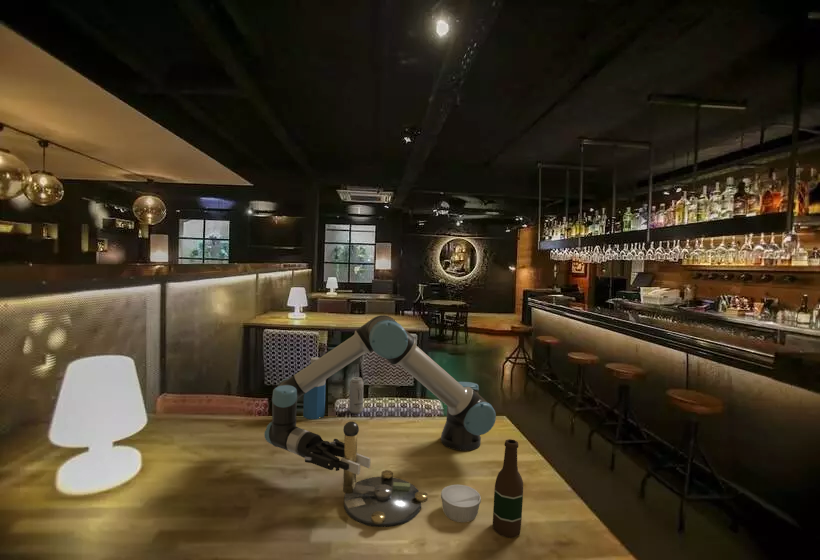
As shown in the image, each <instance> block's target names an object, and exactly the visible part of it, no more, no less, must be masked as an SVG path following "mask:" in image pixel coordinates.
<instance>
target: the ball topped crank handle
mask: <svg viewBox="0 0 820 560" xmlns="http://www.w3.org/2000/svg"><path fill="white" fill-rule="evenodd" d="M359 428H360V427H359V425H358V424H357V422H355V421H347V422H346V423H345V424H344V426H343V434H344V442H343V443H344V458H345V459H347V460H350V461H353V462H355V463H356V459H357V453H358V434H359V431H360V429H359ZM342 480H343V481H342V482H343V483H342V492H343V493H344V494H345V493H347V494H350V493H357V494H366V495H374V497H375V498H376V499H377V500H380V501H386V500H389V499H390V498H391V497H392V488H391V487H390V486H389V485H385V484H382V485H378V486H376V487H372V486H363V485H356V482H357V474H355V473H352V472H350V471H347V470H344V469H343V479H342Z"/></svg>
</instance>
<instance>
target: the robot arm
mask: <svg viewBox="0 0 820 560" xmlns="http://www.w3.org/2000/svg"><path fill="white" fill-rule="evenodd" d="M372 352H374V353H375V354H376V355H377V356H380V357H381V358H384V359H385V360H386V361H387V362H388V363H390V365H392V366H400V367H401V368H403V370H405V371H406V372H407V373H408V374H410V375H411V376H412V377H413V378H414V379H415V380H416V381H417V382H419V383H420V384H421V385H422V386H423V387H425V388H426V389H427V390H428V391H429V392H431V393H432V394H433V395H434V396H435V397H436V398H438V400H439V401H441V402H442V403H444V405H446V421H445V424H444V426H443V428H442V432H441V435H440V441H441V442H440V443H441V444H442V445H443V446H445V447H447V448H448V449H451V450H455V451H464V452H465V451H466V452H467V451H472V450H476V449H478V448H479V447H481V442H482V441H481V440H482V437H481V436H482V435H486V434H487V433H489V432H490V431H491V430H492V428H493V427H494V426H495V423H496V418H497V415H496V414H497V413H496V410H495V409H494V407H493V405H492V404H491V403H489V402H488V401H487V400H486V399H485V398H484V397H482V396H481V395H480V394H479V391H480V388H479V387H480V386H479V384H478V383H476V382H471V381H457V380H456V379H455V378H454V377H453V376H451V374H449V373H448V372H447V371H446V370H445V369H444V368H443V367H441V366H440V365H439V364H438V363H437V362H436V361H435V360H433V359H432V358H431V357H430V356H429V355H428V354H426V352H424V351H423V349H421V348H419V346H417V344H416V338H415V337H414V336H413V335H412V334H411V333H410V332H409V331H407V330H406V329H405V328H404V327H403V326H402V324H400V323H398V321H397V320H395V319H394V318H393V317H391V316H389V315H385V314H383V315H377V316H375V317H373V318H371V319H370V320H368V321H367V322H366V323H364V324H363V325H362V326H360V327H358V328H357V329H356V330H354V334H353V335H352V336H350V337H349V338H347V339H346V340H345V341H342V343H340V344H338V345H337V346H335V347H334V348H332V349H331V350H329V351H328V352H326V353H325V354H323V355H322V356H320V357H318V358H319V359H318V360H316V361H315V362H313V363H312V364H310V363H309V365H307V366H306V367H304V368H302V369H301V370H299V371H298V372H297V373H295V374H294V375H292V376H291V377H288V378H284V379H282V380H281V381H280V382H279V383H278V385H277V386H276V387H275V388H274V389H272V397H271V402H272V403H271V404H272V409H271V410H272V412H271V413H272V415H271V416H272V419H271V421H270V422H269V423H268V424H267V425H266V430H264V434H263V435H264V438H265V441H266V443H267V442H268V444H270V445H272V446H274V447H276V448H279V449H283V450H285V451H288V452H290V453H292V454H295V455H297V456H299V457H302V458H304V463H308V464H313V465H314V466H319V467H321V468H324V469H326V470H329V471H333V470H334V469H335V471H336V472H338V471H340V469H341V470H343V471H344V470H347V471H350V472H352V473H355V474H356V476H358V475H359V476H360V474H361V466H362V467H364V468H367V469H370V468H371V457H368V456H366V455H363V454H361V453H358V452H357V459H356V463H355V462H353V461H350V460H347V459H345V458H344V442H343V441H340V440H339V439H337V438H334V439H333V441H331V442H330V441H328V440H323V438H322V437H321V435H320V434H318V433H315V432H312V431H310V430H306V429H303V428H301V427H298V426H297V408H298V407H297V405H298V399H299V398H301V397H302V396H304V394H305V393H306V392H308V391H309V390H311V389H312V388H314V387H315V386H317V385H318V384H320V383H321V382H323V381H324V380H326V381H327V379H328V378H330V377H331V376H333V375H335V374H336V373H338V372H339V371H340V370H343V369H344V368H345V367H346V366H349V364H351V363H353V362H354V361H356V360H357V359H358V358H360V357H361V356H362V355H364V354H366V353H367V354H371V353H372Z"/></svg>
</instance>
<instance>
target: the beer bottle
mask: <svg viewBox="0 0 820 560" xmlns="http://www.w3.org/2000/svg"><path fill="white" fill-rule="evenodd" d="M518 448H519V442H518V441H517V440H515V439H512V438H510V439H505V441H504V456H503V463H502V469H501V470H500V471H499V472H498V473H497V476H496V479H495V483H494V492H493V511H492V530H493V531H494V532H495V533H497V534H498V535H499V536H501V537H504V538H508V539H509V538H510V539H512V538H515V537H518V536H520V534H521V529H522V528H521V527H522V518H523V517H522V515H523V501H524V480H523V477H522V475H521V474H520V472H519V469H518Z"/></svg>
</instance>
